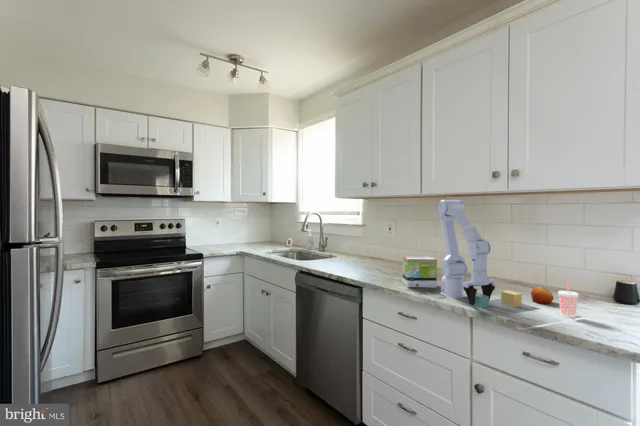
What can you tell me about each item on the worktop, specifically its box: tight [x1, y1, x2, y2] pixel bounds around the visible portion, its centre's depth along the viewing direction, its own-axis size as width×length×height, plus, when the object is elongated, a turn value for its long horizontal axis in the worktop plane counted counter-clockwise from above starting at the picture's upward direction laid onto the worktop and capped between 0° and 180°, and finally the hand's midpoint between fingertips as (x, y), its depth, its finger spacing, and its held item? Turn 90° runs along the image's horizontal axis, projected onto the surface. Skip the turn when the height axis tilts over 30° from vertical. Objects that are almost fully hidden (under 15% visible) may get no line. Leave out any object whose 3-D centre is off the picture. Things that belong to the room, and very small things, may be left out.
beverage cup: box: [557, 278, 579, 320], centre depth 123 cm, size 6×6×14 cm
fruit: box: [530, 285, 554, 305], centre depth 140 cm, size 8×8×8 cm
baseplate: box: [489, 298, 541, 314], centre depth 136 cm, size 16×14×1 cm
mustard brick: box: [500, 289, 523, 307], centre depth 136 cm, size 6×4×5 cm, turn 20°
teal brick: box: [472, 292, 490, 309], centre depth 135 cm, size 6×4×5 cm, turn 20°
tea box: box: [402, 255, 438, 289], centre depth 172 cm, size 15×10×15 cm, turn 91°
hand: (478, 303), depth 135 cm, fingers open, 7 cm apart
